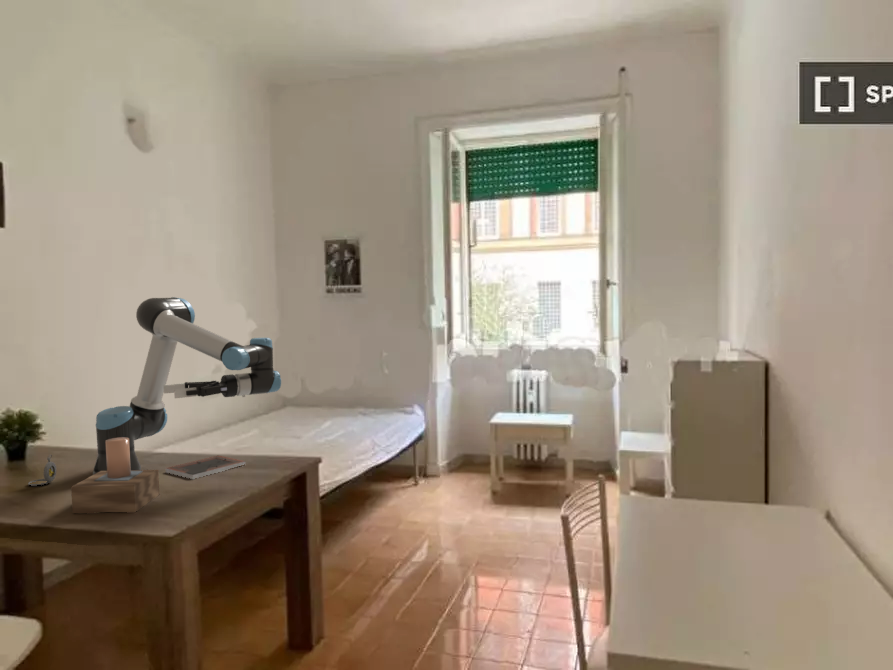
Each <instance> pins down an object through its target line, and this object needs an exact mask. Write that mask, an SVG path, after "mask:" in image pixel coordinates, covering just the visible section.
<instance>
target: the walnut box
mask: <svg viewBox="0 0 893 670" xmlns="http://www.w3.org/2000/svg"><path fill="white" fill-rule="evenodd" d="M159 470H160V469H141V470H131V475H129V476H126V477H122V478H108V477H107V471H100V472H98V473H96V474H94V475H93V474H92V475H90V476H88V477H87V478H85V479H83V480H81V481H79V482H76V484H74V485H72V486H71V487H70V492H71V509H72V514H73V513H87V514H98V513H97V512H127V513H137V512H138V511H140V510H141V509H142V508H144V506H146V505H147V504H149V503H150V502H152V501H153V500H154V499H156V498H157V497H158V496H160V474H159V473H160V472H159ZM136 511H137V512H136ZM94 512H96V513H94Z"/></svg>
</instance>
